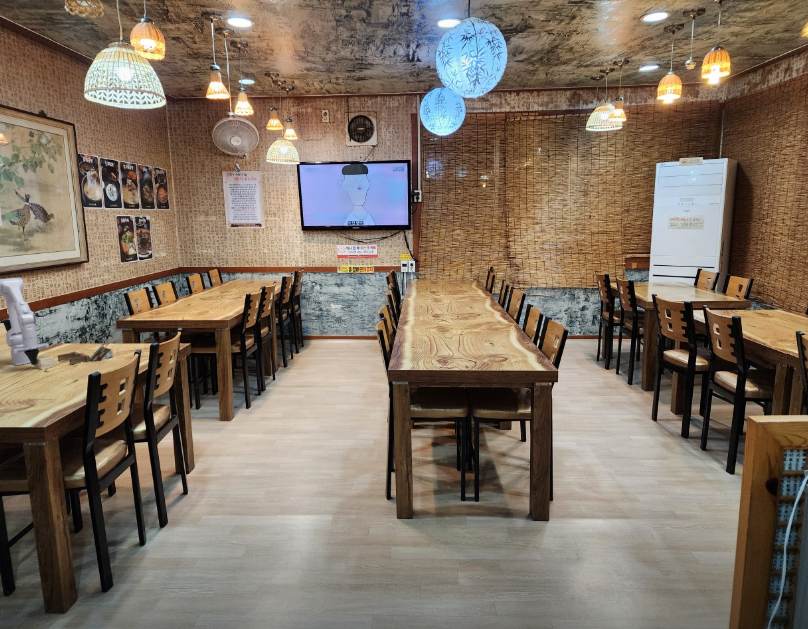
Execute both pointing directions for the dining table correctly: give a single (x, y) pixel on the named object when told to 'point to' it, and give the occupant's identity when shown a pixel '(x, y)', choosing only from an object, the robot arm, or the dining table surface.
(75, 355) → the walnut stop
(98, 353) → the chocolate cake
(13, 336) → the robot arm
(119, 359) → the dining table surface
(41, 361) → the maple block
